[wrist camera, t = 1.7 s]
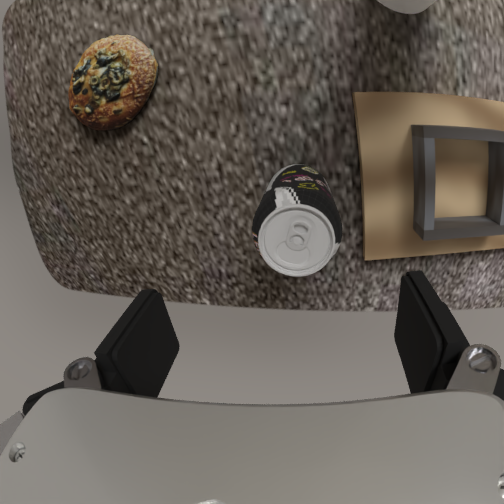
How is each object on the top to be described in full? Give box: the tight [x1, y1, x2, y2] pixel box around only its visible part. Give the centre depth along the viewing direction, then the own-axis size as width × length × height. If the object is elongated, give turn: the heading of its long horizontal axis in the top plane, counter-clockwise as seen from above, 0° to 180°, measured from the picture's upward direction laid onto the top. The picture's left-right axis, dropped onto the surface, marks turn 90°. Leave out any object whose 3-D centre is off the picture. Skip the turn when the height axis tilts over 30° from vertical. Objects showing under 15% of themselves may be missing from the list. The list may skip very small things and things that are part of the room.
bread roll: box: [69, 35, 158, 131], centre depth 24 cm, size 11×11×5 cm
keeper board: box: [352, 92, 504, 260], centre depth 23 cm, size 16×20×4 cm
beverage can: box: [252, 164, 342, 277], centre depth 23 cm, size 6×6×12 cm
